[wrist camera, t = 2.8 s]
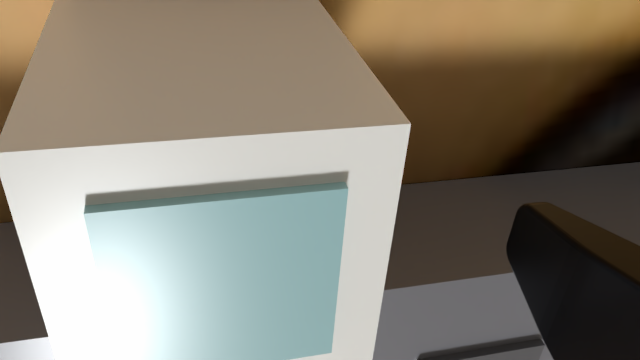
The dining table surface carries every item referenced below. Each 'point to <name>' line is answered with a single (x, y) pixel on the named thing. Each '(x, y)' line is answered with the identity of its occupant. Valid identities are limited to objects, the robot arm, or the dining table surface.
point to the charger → (203, 181)
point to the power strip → (420, 266)
